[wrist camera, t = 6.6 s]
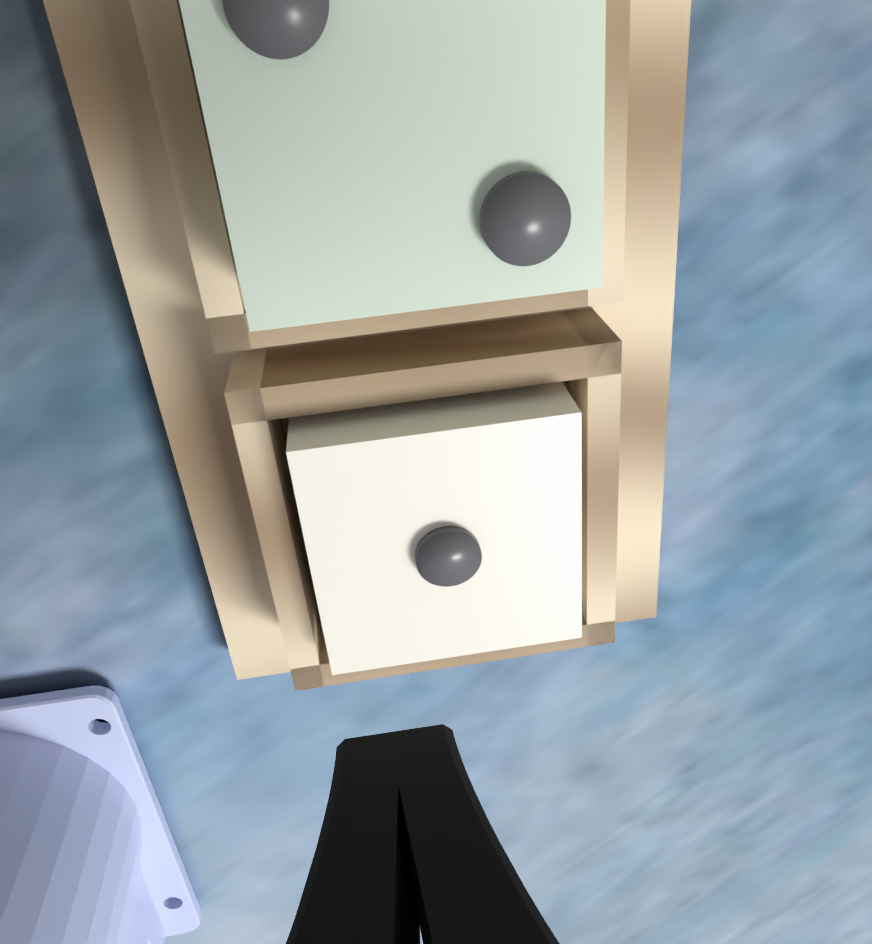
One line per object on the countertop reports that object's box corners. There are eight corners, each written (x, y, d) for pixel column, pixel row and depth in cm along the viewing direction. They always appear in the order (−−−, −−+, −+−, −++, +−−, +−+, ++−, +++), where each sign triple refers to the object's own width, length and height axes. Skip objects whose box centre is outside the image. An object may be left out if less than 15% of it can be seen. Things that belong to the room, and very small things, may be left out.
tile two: (560, 245, 14) (606, 291, 11) (261, 282, 13) (248, 337, 11) (555, -120, 11) (612, -151, 9) (188, -85, 11) (152, -109, 9)
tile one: (553, 566, 18) (584, 644, 16) (331, 599, 18) (332, 682, 16) (548, 359, 16) (585, 417, 14) (291, 393, 16) (285, 457, 13)
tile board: (644, 596, 20) (684, 669, 18) (240, 656, 20) (229, 739, 18) (731, -1254, 8) (880, -1718, 6) (-287, -1237, 8) (-534, -1742, 6)
